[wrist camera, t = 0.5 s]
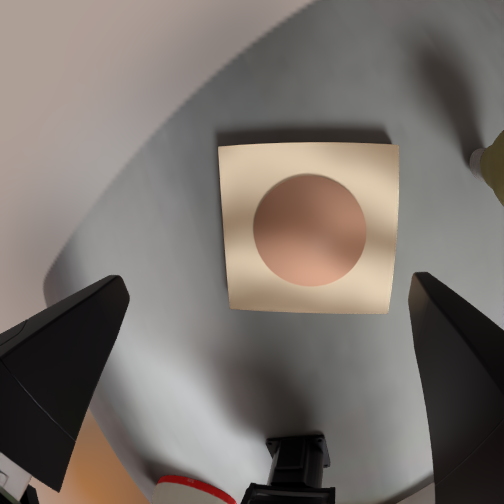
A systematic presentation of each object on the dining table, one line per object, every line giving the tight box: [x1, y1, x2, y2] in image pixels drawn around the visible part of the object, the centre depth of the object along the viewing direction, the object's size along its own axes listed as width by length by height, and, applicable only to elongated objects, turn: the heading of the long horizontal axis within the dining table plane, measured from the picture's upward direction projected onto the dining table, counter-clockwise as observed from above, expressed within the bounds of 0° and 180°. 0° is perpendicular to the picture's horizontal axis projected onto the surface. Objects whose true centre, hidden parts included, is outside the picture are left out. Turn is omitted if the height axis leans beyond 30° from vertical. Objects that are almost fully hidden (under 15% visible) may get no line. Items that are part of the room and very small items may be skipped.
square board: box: [218, 142, 399, 314], centre depth 21 cm, size 12×12×2 cm
